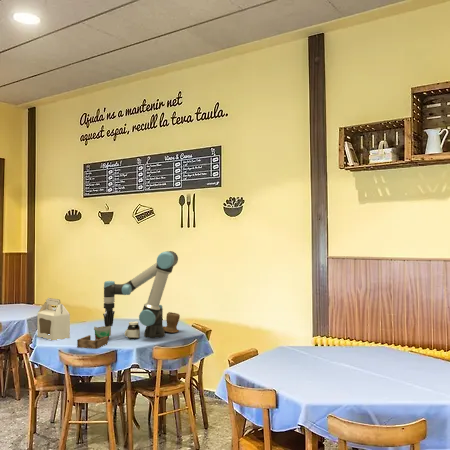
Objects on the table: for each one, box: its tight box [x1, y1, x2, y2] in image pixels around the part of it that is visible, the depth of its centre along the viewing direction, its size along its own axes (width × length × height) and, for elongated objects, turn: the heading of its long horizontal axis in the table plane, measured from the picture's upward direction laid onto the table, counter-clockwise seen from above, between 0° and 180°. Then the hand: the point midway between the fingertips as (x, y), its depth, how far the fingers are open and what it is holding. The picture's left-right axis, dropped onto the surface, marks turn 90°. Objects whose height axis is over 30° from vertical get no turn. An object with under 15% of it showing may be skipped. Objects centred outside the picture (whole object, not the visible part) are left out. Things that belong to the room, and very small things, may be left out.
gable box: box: [36, 297, 71, 341], centre depth 363 cm, size 22×13×28 cm, turn 50°
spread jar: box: [124, 320, 141, 340], centre depth 361 cm, size 12×11×12 cm
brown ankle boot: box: [163, 311, 181, 334], centre depth 383 cm, size 15×12×15 cm
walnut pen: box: [76, 334, 109, 350], centre depth 337 cm, size 14×15×5 cm
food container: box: [93, 325, 112, 341], centre depth 351 cm, size 12×6×10 cm, turn 126°
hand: (108, 335), depth 360 cm, fingers closed
